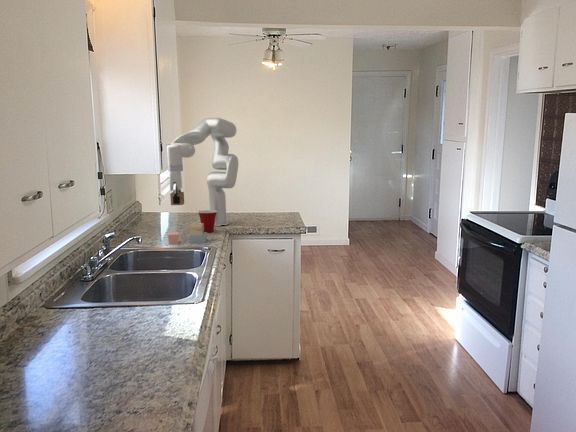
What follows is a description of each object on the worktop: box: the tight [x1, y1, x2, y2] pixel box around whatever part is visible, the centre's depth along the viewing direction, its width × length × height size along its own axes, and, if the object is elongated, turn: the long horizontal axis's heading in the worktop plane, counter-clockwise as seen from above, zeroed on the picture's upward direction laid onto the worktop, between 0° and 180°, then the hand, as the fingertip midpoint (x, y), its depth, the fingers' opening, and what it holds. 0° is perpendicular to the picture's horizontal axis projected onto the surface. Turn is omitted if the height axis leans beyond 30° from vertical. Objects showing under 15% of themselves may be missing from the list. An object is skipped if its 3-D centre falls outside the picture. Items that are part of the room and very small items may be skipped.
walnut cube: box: [169, 191, 185, 206], centre depth 262 cm, size 6×6×6 cm
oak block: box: [189, 222, 204, 236], centre depth 255 cm, size 6×6×5 cm
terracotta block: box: [167, 231, 180, 245], centre depth 253 cm, size 5×5×5 cm
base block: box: [188, 232, 208, 244], centre depth 256 cm, size 8×8×4 cm
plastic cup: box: [197, 209, 217, 234], centre depth 278 cm, size 11×11×12 cm
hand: (177, 202), depth 262 cm, fingers closed on walnut cube, 6 cm apart
